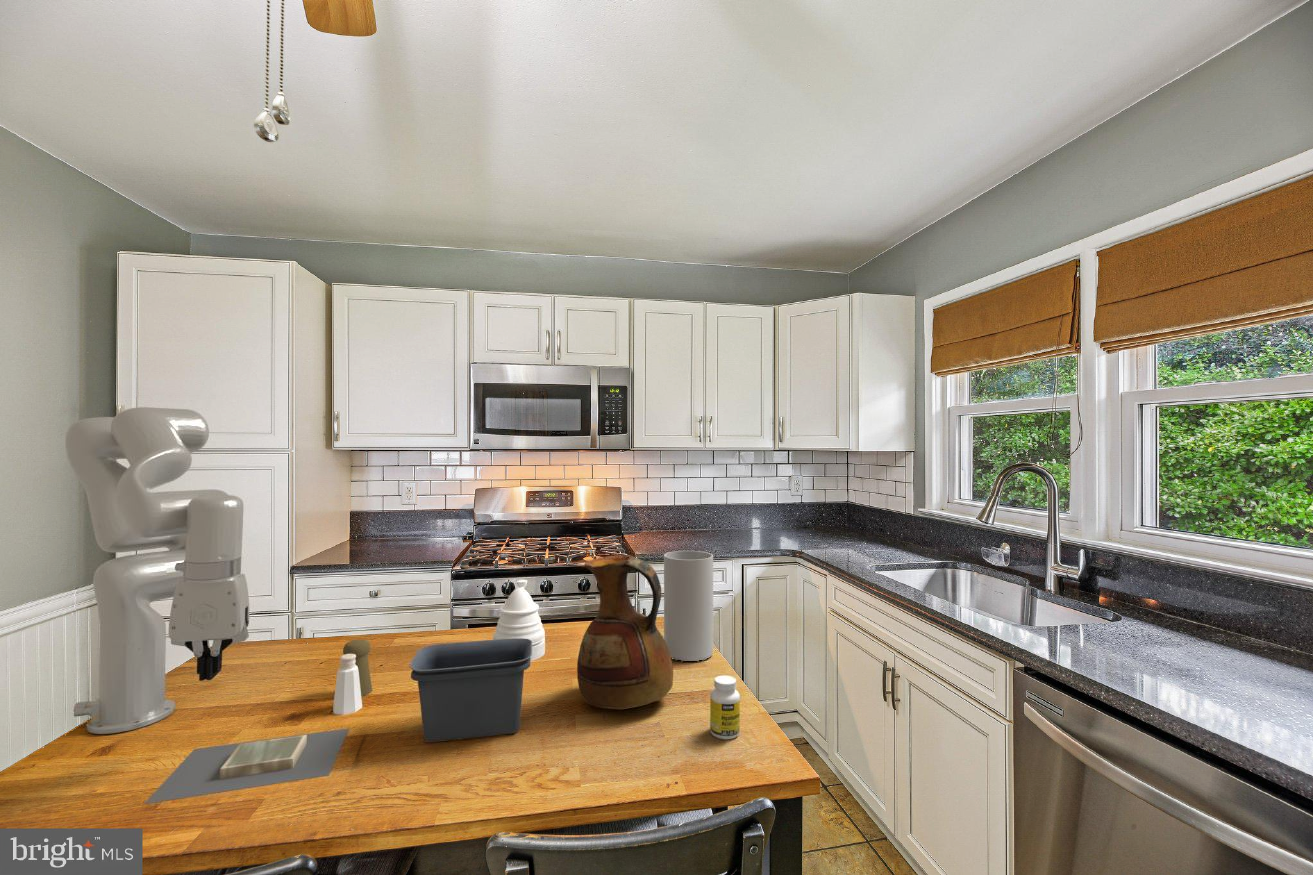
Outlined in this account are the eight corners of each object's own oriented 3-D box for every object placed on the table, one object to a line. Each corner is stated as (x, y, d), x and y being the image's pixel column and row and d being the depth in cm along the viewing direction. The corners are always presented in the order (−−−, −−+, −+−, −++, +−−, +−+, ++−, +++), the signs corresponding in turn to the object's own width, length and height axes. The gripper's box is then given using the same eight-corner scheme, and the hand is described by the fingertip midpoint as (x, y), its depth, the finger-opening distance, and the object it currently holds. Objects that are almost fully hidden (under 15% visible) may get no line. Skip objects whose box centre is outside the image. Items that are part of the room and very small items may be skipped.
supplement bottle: (721, 743, 102) (720, 687, 102) (704, 729, 106) (704, 676, 107) (745, 736, 104) (745, 681, 104) (728, 723, 109) (728, 671, 109)
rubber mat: (143, 807, 84) (143, 804, 84) (194, 751, 99) (194, 748, 99) (328, 778, 91) (328, 775, 91) (349, 730, 106) (349, 728, 106)
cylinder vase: (688, 641, 154) (688, 548, 155) (723, 654, 145) (723, 555, 145) (653, 653, 146) (653, 554, 146) (689, 667, 137) (688, 562, 137)
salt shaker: (341, 719, 110) (342, 662, 111) (326, 713, 113) (326, 657, 113) (368, 709, 115) (368, 653, 115) (353, 702, 118) (353, 648, 118)
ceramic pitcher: (593, 677, 131) (593, 545, 131) (680, 684, 127) (680, 549, 127) (562, 717, 112) (562, 562, 112) (663, 727, 107) (663, 567, 108)
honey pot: (505, 643, 153) (505, 576, 153) (551, 646, 151) (551, 577, 152) (484, 661, 140) (484, 588, 141) (534, 664, 138) (534, 589, 139)
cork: (358, 699, 119) (359, 646, 119) (333, 697, 120) (334, 644, 121) (378, 687, 125) (378, 637, 125) (354, 685, 126) (354, 635, 126)
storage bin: (404, 753, 98) (405, 669, 99) (422, 712, 113) (422, 640, 114) (531, 740, 103) (531, 660, 103) (531, 702, 118) (532, 633, 118)
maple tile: (220, 768, 90) (293, 758, 93) (239, 743, 98) (306, 734, 101) (219, 779, 90) (292, 768, 93) (239, 753, 97) (306, 743, 101)
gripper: (147, 575, 91) (142, 690, 91) (256, 573, 95) (251, 683, 95) (171, 564, 98) (167, 671, 98) (272, 562, 102) (267, 665, 102)
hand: (209, 676), depth 97 cm, fingers closed
